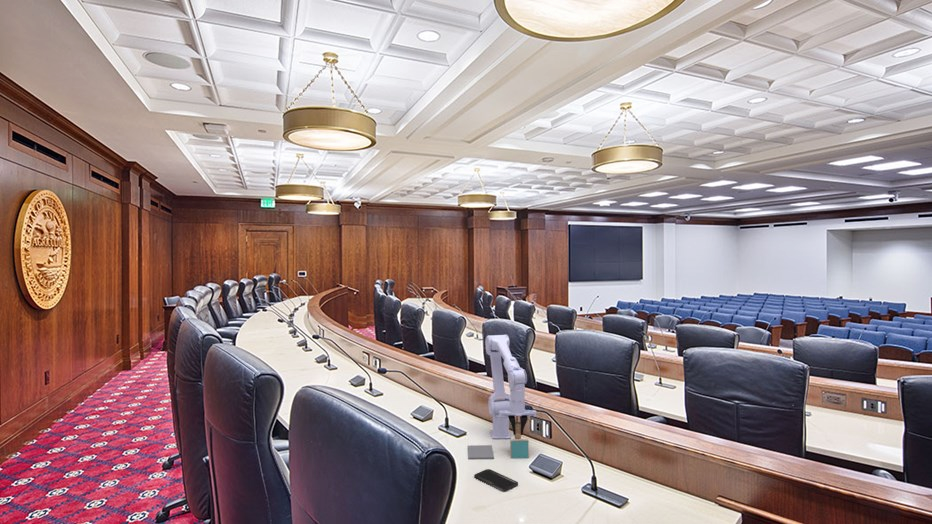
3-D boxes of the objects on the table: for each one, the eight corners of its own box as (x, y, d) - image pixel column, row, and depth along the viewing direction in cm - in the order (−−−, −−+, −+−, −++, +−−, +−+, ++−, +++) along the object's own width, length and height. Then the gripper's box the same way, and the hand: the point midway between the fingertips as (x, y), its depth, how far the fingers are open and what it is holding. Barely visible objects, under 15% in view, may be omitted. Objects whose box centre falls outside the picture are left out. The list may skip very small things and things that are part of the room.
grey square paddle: (511, 442, 181) (511, 422, 181) (523, 442, 181) (523, 422, 181) (512, 446, 176) (512, 426, 176) (525, 446, 176) (525, 426, 176)
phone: (488, 468, 164) (519, 482, 153) (488, 471, 164) (519, 485, 153) (472, 475, 159) (503, 490, 148) (472, 478, 159) (503, 493, 148)
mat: (467, 447, 186) (467, 445, 186) (491, 446, 186) (491, 445, 186) (468, 459, 174) (468, 457, 174) (494, 458, 174) (494, 457, 174)
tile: (510, 457, 176) (510, 439, 176) (528, 456, 176) (527, 438, 176) (510, 458, 174) (510, 440, 174) (528, 458, 174) (528, 440, 175)
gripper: (500, 403, 175) (500, 438, 175) (537, 402, 176) (537, 437, 176) (498, 398, 182) (499, 431, 182) (534, 397, 183) (534, 431, 183)
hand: (517, 434), depth 179 cm, fingers closed on grey square paddle, 2 cm apart
